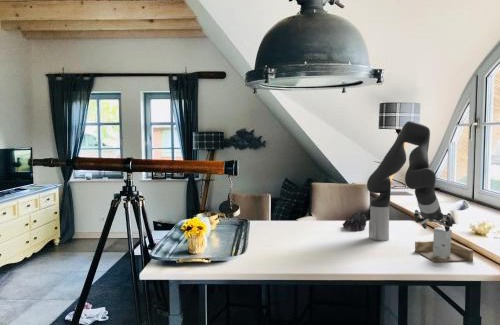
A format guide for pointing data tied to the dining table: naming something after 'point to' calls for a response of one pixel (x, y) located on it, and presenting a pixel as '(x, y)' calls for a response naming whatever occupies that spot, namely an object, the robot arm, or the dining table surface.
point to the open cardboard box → (456, 255)
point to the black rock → (355, 223)
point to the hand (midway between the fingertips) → (436, 228)
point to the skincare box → (442, 242)
